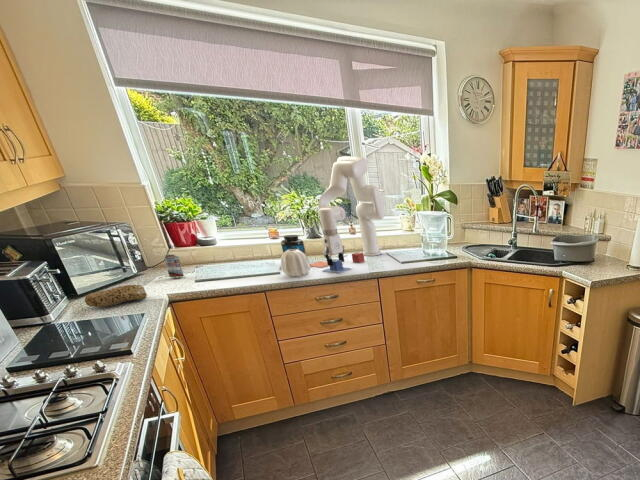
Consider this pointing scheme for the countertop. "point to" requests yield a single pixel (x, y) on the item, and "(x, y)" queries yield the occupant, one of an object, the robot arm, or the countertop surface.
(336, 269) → the blue block
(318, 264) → the red mat
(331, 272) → the blue mat
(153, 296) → the countertop surface
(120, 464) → the countertop surface
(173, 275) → the beverage can
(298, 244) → the container
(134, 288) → the sponge
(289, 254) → the vase
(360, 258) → the red block
